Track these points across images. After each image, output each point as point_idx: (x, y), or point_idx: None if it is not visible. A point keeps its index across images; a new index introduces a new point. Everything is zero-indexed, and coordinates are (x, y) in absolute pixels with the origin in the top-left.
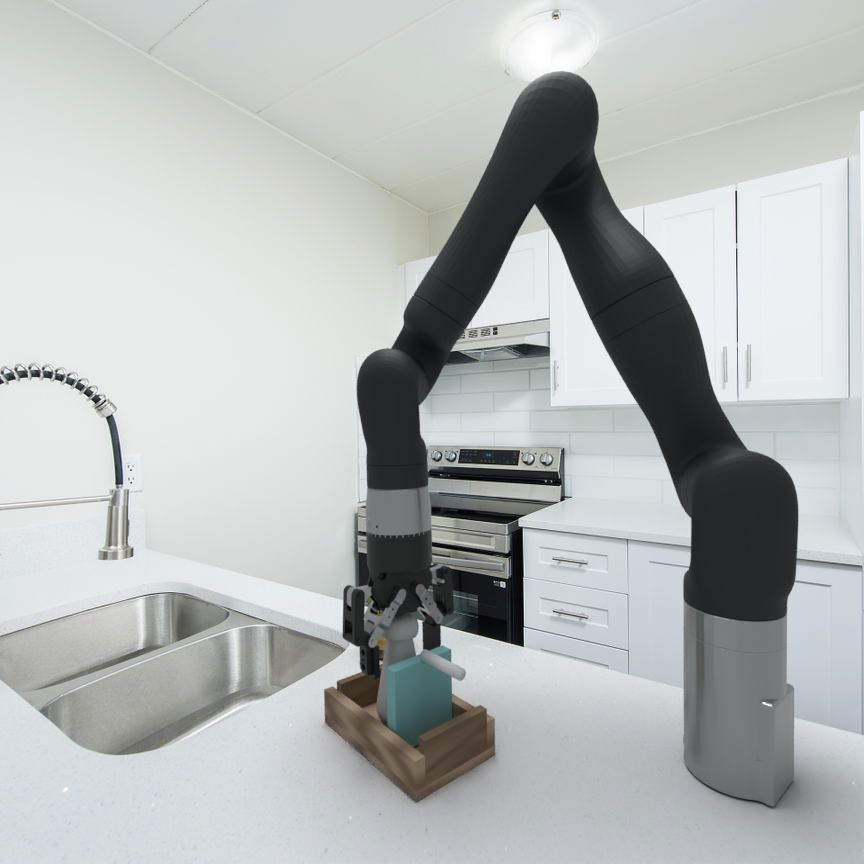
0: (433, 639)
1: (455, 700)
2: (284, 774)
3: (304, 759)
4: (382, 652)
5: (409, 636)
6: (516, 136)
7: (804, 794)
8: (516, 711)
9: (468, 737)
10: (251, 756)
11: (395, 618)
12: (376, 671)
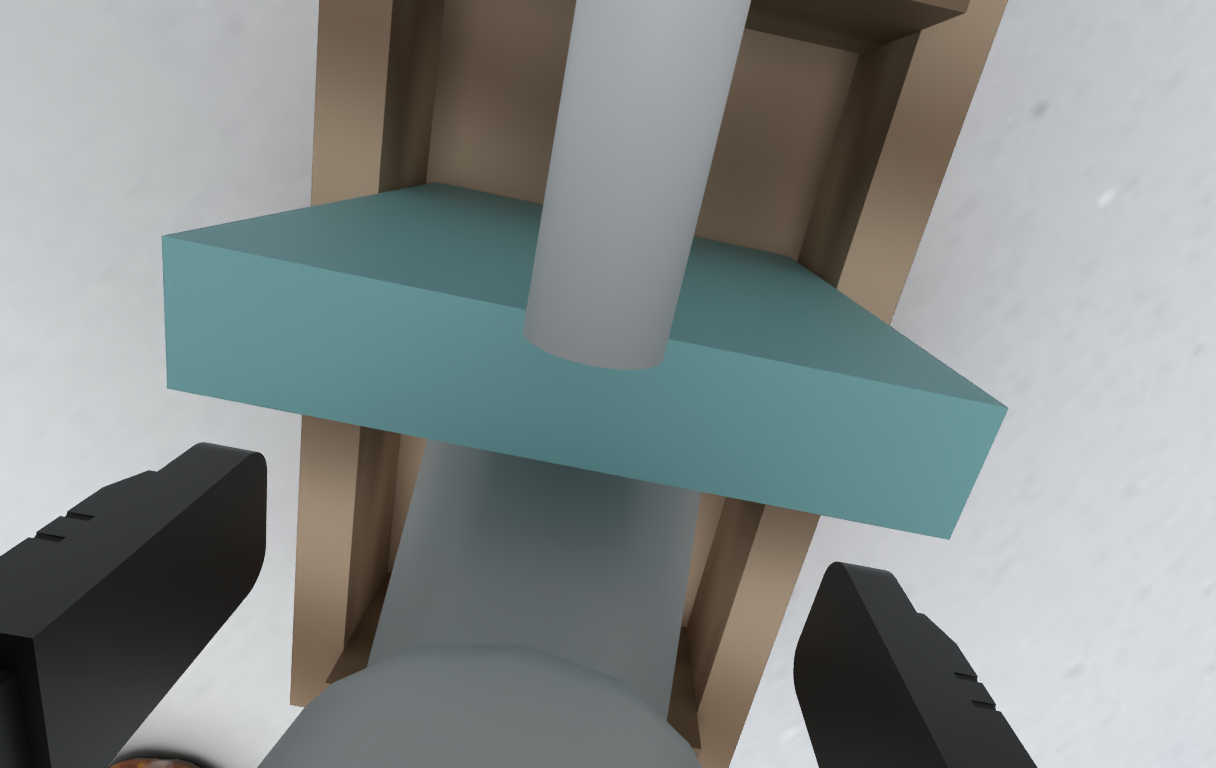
0: (162, 539)
1: (353, 194)
2: (1021, 555)
3: (920, 562)
4: None
5: (546, 686)
6: None
7: None
8: (33, 35)
9: None
10: (997, 701)
11: None
12: (890, 601)
